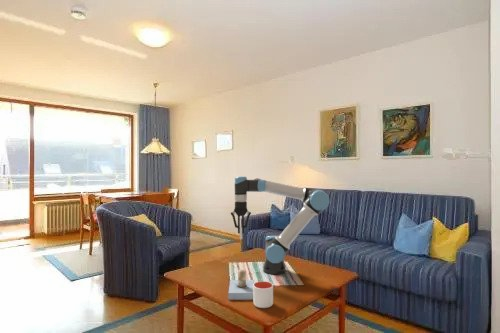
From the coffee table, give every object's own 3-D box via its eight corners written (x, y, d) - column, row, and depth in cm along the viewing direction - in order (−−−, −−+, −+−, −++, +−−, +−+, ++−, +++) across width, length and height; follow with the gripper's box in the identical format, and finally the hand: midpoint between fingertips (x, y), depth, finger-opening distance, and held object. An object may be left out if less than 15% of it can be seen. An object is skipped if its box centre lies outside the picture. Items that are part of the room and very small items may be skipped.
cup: (252, 300, 161) (252, 281, 161) (271, 299, 162) (271, 280, 162) (254, 309, 151) (254, 289, 151) (274, 308, 152) (274, 288, 152)
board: (254, 286, 181) (254, 280, 181) (255, 299, 163) (255, 292, 163) (230, 286, 181) (230, 280, 181) (228, 299, 163) (228, 293, 163)
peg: (246, 290, 174) (245, 269, 174) (246, 294, 170) (245, 272, 169) (238, 290, 174) (238, 269, 174) (237, 294, 169) (237, 272, 169)
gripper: (251, 200, 198) (251, 237, 198) (230, 200, 198) (230, 237, 198) (251, 201, 191) (251, 240, 191) (230, 201, 191) (230, 240, 191)
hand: (240, 238), depth 195 cm, fingers closed
